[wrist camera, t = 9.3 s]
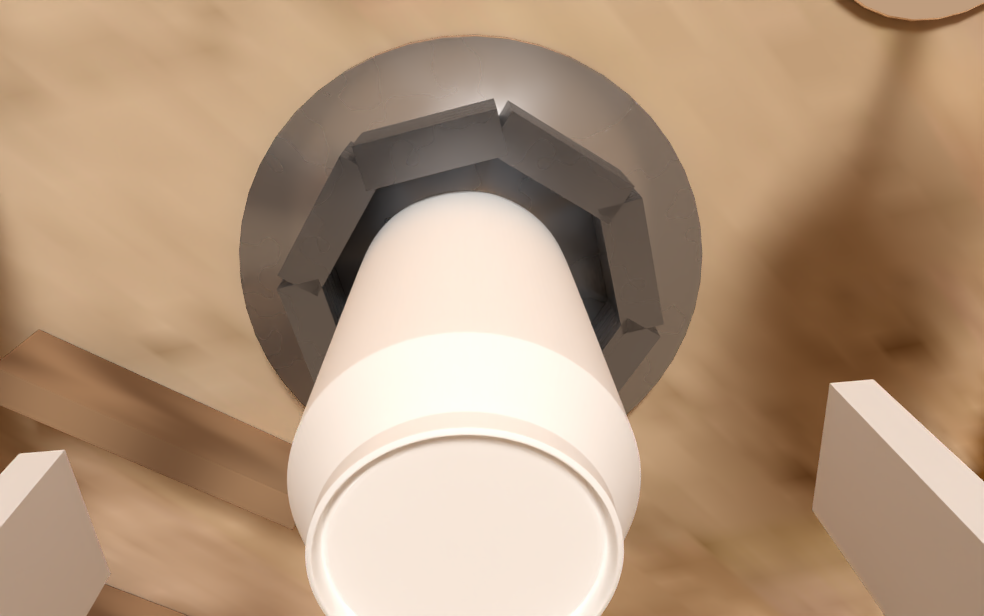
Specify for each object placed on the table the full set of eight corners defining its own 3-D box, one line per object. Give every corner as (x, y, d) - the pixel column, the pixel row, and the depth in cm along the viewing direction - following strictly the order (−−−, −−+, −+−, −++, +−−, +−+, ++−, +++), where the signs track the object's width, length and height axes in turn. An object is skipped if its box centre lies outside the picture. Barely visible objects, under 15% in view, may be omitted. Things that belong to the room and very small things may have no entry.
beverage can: (541, 385, 24) (609, 724, 13) (350, 355, 23) (246, 686, 12) (588, 202, 21) (721, 423, 10) (377, 163, 21) (277, 355, 10)
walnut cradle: (-51, 551, 27) (-99, 603, 24) (38, 329, 23) (-8, 365, 21) (207, 647, 29) (185, 703, 27) (322, 458, 26) (308, 503, 23)
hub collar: (179, 342, 24) (141, 387, 21) (378, -71, 19) (364, -82, 16) (539, 512, 27) (548, 570, 24) (783, 193, 22) (827, 221, 20)
